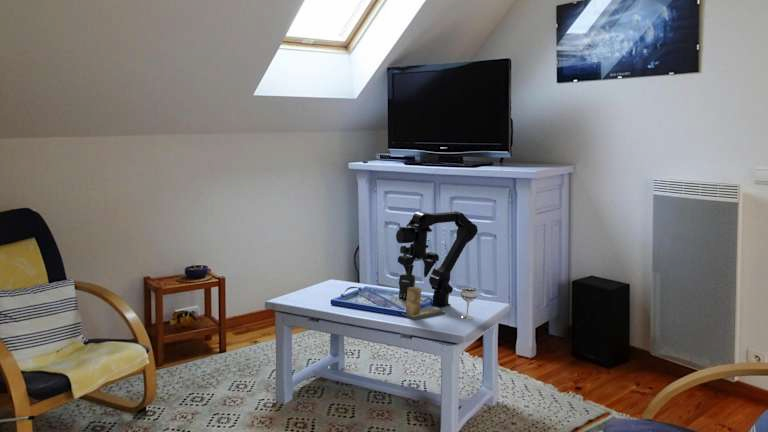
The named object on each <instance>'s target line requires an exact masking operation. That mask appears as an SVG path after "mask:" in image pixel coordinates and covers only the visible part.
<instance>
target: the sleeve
mask: <svg viewBox="0 0 768 432" xmlns="http://www.w3.org/2000/svg"><path fill="white" fill-rule="evenodd" d="M421 299H422V288H420V287H418V286H415V287H409V288H408V289H407V299H406V305H405V306H406V307H405V309H406V313H407V314H408V315H410V316H412V315H413V314H418V313H420V307H421V301H422V300H421Z"/></svg>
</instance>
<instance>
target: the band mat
mask: <svg viewBox="0 0 768 432" xmlns="http://www.w3.org/2000/svg"><path fill="white" fill-rule="evenodd" d="M425 306H426V305H425ZM401 315H403V316H404V317H406V318H409V319H410V320H414V321H416V320H422V319H426V318H430V317H436V316H440V315H446V312H445V311H444V309H442V308H439V309H438V308H435V307H433V306H431V305H428V306H426V307H424V308H422V309H421V310H420V313H418V314H413V315H412V316H410V315H408V314H404V313H402V314H401Z"/></svg>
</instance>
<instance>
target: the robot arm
mask: <svg viewBox="0 0 768 432" xmlns="http://www.w3.org/2000/svg"><path fill="white" fill-rule="evenodd" d="M452 222H453V223H454V225H455V226H456V227H457V230H456V238H455V240H454V241H453V244H452V245H451V247H450V249H449V251H448V253H447V254H446V255H445V258H444V260H443V262H442V263H441V265H440V266H439V267H438V268H435V267H434V266H435V264H437V262H439V260H440V257H439V254H438V253H435V252H432V251H429V252H427V249H428V248H429V245H428V244H427V243H428V242H427V241H428V233H430V232H433V229H432V228H431V227H432V226H433V225H435V224H443V223H444V224H445V223H452ZM478 231H479V229H478V227H477V225H476V224H475V223H473V222H472V221H471V220H470V219H469V218H468V217H466V216H465V214H464V213H463V212H461V211H457V210H456V211H455V210H454V211H449V212H435V213H429V212H425V211H416V212H414V214H413V216H412V218H411V219H410V220H409V222H408V223H407V225H406V226H399V229H398V230H397V231H396V233H395V238H396V242H397V243H398V244H409V245H410V246H407V245H401V246H400V249H399V252H400V254H402V255H399V256H397V263H398V264H399V265H401V266H403V268H404V270H405V271H404V272H405V273H406V274H407V278H408V280H410V278H411V275H412V274H413V270H414V266H415V265H414V262H418V261H423V277H424V278H427V276H428V275H429V278H428V282H429V285H430V286H431V289H432V290H433V295H432V302H433V303H432V304H431V305H433V306H436V307H438V308H445V307H450V306H451V303H449V297H450V294H452V292H453V290H454V288H453V287H452V285H451V284H450V282H451V281H450V280H451V272H452V270H453V269H454V267H455V265H456V263H457V261H458V259H459V258H460V256H461V254H462V252H463V251H464V249H465V247H466V245H467V244H468V243H470V242H471V241H473V239H474V238H475V237H476V236H477V234H478ZM433 267H434V268H433ZM432 268H433V269H432ZM431 270H432V271H431ZM429 273H430V274H429Z"/></svg>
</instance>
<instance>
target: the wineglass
mask: <svg viewBox="0 0 768 432" xmlns="http://www.w3.org/2000/svg"><path fill="white" fill-rule="evenodd" d="M460 289H461V291H460V297H461V299H462V300H463V301H465V302H466V314H465V315H461V316H460V317H461V319H463V320H472V319H471V318H473V319H474V317H473V316H471V315H469V306H470V303H471V302H473V301H475V300H476V299H477V297H478V288H475V287H470V286H464V287H463V286H462V287H461V288H460Z"/></svg>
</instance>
